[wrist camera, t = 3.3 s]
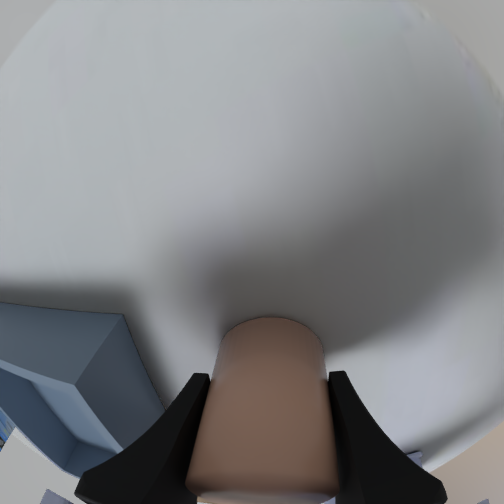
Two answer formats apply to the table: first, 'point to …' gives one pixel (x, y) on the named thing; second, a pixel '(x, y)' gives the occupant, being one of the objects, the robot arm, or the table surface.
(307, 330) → the terracotta cylinder
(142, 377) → the tote
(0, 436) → the light bulb box
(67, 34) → the table surface
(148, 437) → the robot arm
